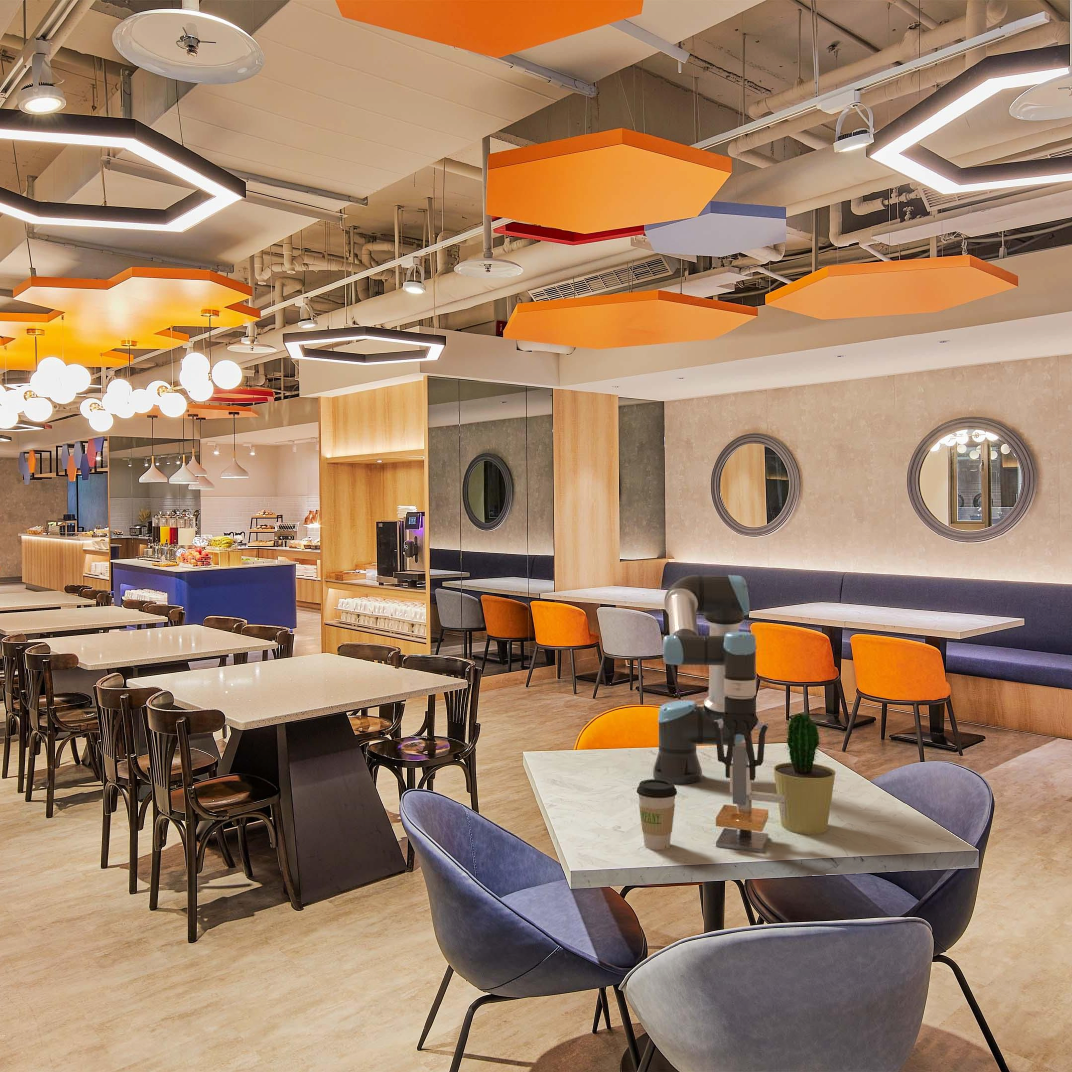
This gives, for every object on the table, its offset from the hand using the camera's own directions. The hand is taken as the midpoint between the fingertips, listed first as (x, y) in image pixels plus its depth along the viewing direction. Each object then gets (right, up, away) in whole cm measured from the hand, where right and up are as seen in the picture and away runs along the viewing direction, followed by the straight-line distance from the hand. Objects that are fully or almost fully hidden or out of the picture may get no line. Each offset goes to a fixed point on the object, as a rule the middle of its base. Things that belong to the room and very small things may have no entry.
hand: (740, 792), depth 210 cm
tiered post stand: (+3, -13, +2) cm, 14 cm away
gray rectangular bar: (0, -3, 0) cm, 3 cm away
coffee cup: (-20, -13, +1) cm, 24 cm away
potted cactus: (+20, -13, +13) cm, 27 cm away
